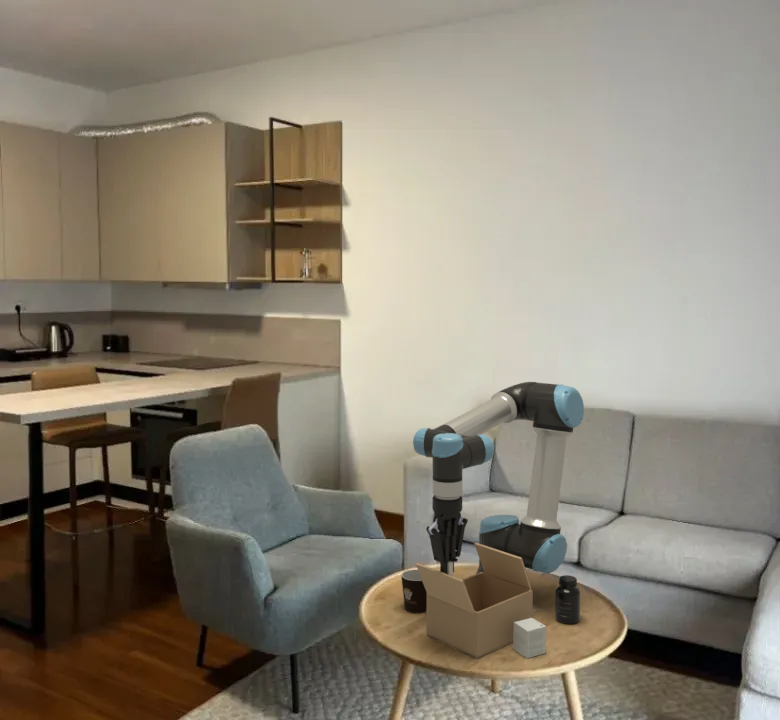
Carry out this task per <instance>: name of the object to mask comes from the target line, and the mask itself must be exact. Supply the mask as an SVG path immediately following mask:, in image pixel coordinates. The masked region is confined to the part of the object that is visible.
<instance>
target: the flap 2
mask: <svg viewBox="0 0 780 720" xmlns="http://www.w3.org/2000/svg"><path fill="white" fill-rule="evenodd" d="M474 547H475V550H476V552H477V556H478V560H479V559H480V562H481V564H482V567H483V570H484V573H486V574H489V575H492V576H495V577H497V578H500V579H503V580H506V581H508V582H511V583H514V584H516V585H519V586H522V587H525V588H527V589H530V590H532V586H531V582H530V579H529V576H528V573H527V572H528V571H527V570H526V568H525V566H524V563H523V560H522V558H521V557H518V556H515V555H512V554H509V553H506V552H503V551H500V550H497V549H494V548H491V547H488V546H485V545H482V544H479V542H475V543H474Z"/></svg>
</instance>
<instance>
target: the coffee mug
mask: <svg viewBox="0 0 780 720" xmlns="http://www.w3.org/2000/svg"><path fill="white" fill-rule="evenodd" d="M400 577H401V585H402V587H401V588H402V594H403V604H404V610H405V611H406V612H408V613H410V612H411V614H422V613H425V612H427V592H426V589H425V587H424V584H423V582H422V579H421V576H420V574H419V571H418V569H408V570H405V571H403V572H401V575H400Z"/></svg>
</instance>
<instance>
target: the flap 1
mask: <svg viewBox="0 0 780 720" xmlns="http://www.w3.org/2000/svg"><path fill="white" fill-rule="evenodd" d="M415 565H416V568H417V569H416V570H418V571H419V574H420V576H421V579H422V582H423V584H424V587H425V589H426V592H427V594H428V595H430V596H432V597H435V598H437V599H439V600H442V601H444V602H446V603H449V604H451V605H454V606H456V607H458V608H461V609H463V610H466V611H468V612H470V613H473V614H474V613H475V611H474V608H473V606H472V603H471V600H470V597H469V595H468V592H467V589H466V586H465V584H464V581H463V580H461V578H458V577H456V576H454V575H453V576H451V575H448V574H446V573H443V572H440V570H437V569H435V568H432V567H429V566H427V565H424V564H421V563H420V562H416V563H415Z"/></svg>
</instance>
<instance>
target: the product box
mask: <svg viewBox="0 0 780 720" xmlns="http://www.w3.org/2000/svg"><path fill="white" fill-rule="evenodd" d="M512 648H513V650H514V651H515V652H517V653H519V654H520V655H521V656H523V657H525V658H526V659H530V658H534V657H537V656H540V655H544V654H546V653H547V625H545V624H543V623H541V622H540V621H538V620H536V619H535V618H533V617H532V618H529V619H525V620H521V621H517V622H514V631H513V643H512Z"/></svg>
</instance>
